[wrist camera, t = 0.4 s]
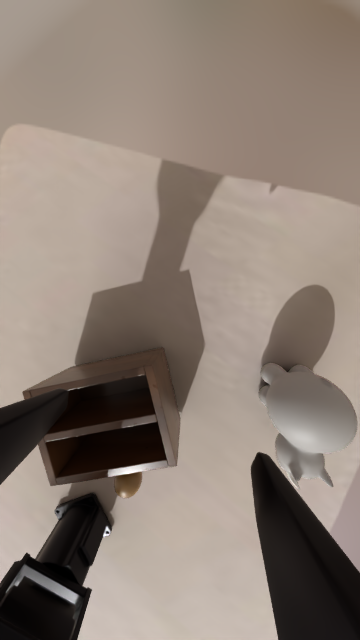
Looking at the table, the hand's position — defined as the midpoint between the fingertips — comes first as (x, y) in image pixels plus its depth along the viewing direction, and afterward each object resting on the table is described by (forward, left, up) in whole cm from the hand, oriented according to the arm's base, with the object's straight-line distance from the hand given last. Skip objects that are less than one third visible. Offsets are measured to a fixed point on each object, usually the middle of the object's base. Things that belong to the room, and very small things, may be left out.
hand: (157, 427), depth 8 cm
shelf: (-9, -5, -14) cm, 18 cm away
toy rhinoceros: (+9, -12, -15) cm, 21 cm away
